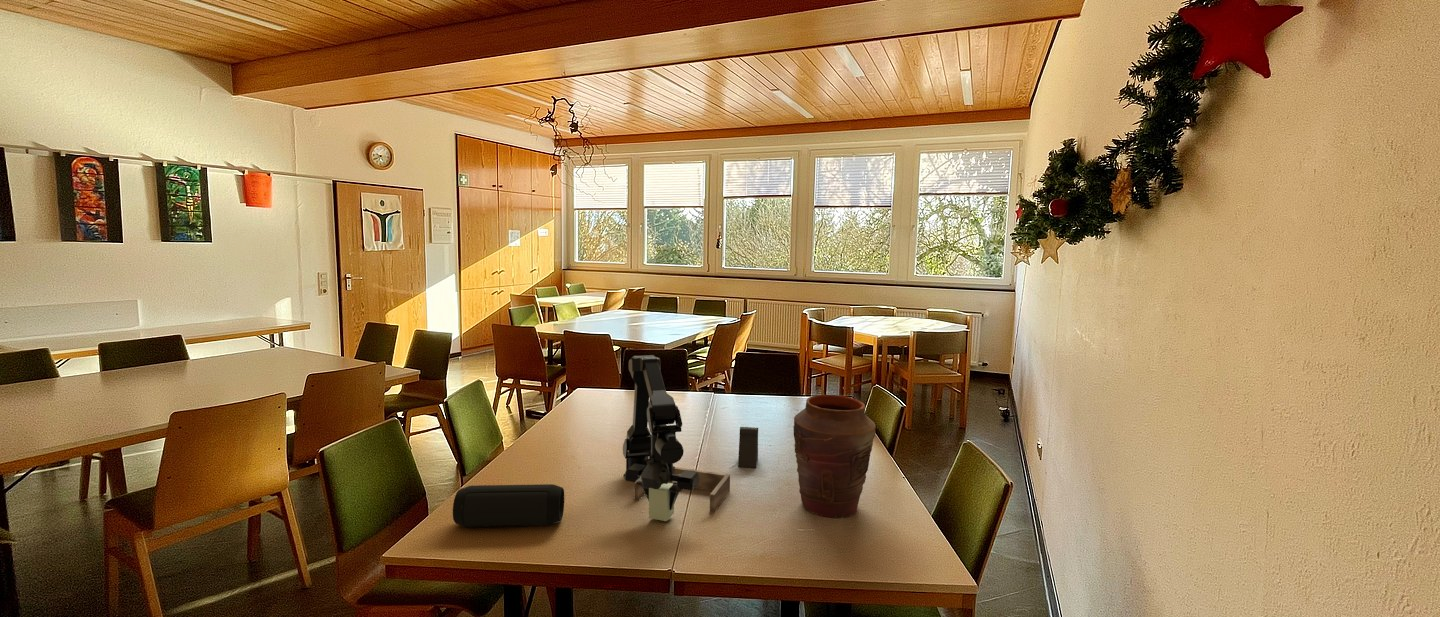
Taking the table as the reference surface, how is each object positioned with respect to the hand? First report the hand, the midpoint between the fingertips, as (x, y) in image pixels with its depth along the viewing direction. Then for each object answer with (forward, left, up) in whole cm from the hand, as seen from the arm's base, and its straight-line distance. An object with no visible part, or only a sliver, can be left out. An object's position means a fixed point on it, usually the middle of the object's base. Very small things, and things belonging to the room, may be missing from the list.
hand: (661, 508), depth 155 cm
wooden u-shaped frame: (0, +15, -3) cm, 16 cm away
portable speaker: (-35, -15, -4) cm, 38 cm away
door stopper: (+11, +48, -3) cm, 49 cm away
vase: (+41, +23, -3) cm, 47 cm away
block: (0, 0, -2) cm, 2 cm away
